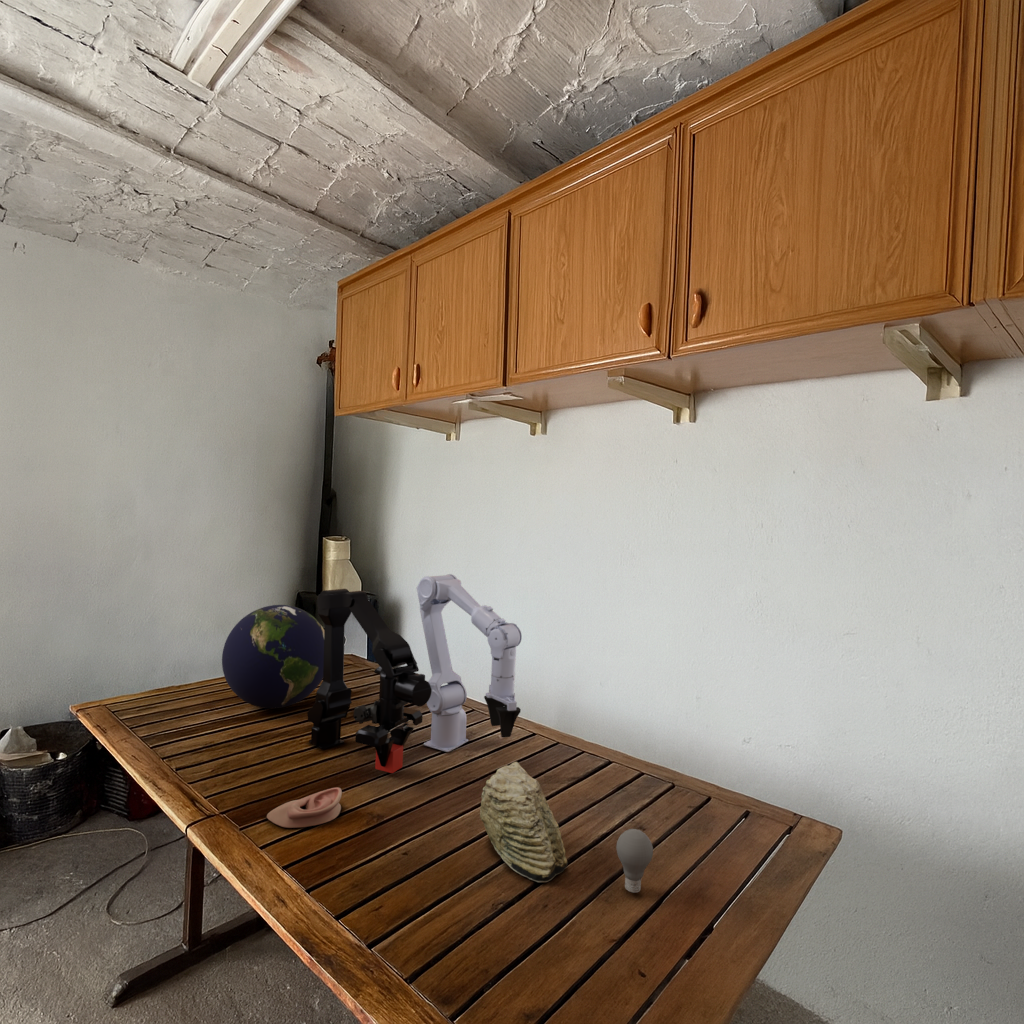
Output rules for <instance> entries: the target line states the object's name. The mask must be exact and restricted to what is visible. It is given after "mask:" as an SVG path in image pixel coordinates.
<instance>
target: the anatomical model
mask: <svg viewBox="0 0 1024 1024" xmlns="http://www.w3.org/2000/svg"><path fill="white" fill-rule="evenodd" d="M342 790H343V789H342V788H341V787H339V786H338V787H331V788H327V789H324V790H321V791H317V792H315V793H312V794H310V795H307V796H305V797H302V798H299V799H295V800H290V801H287V802H285V803H282V804H281V805H279V806H277V807H275V808H273V809H272V810H270V811H269V812H268V813H267V814H266V819H267V820H268V821H270V822H271V823H273V824H275V825H276V826H279V827H282V828H286V829H292V828H293V829H295V828H307V827H312V826H313V827H314V826H318V825H322V824H325V823H329V822H331V821H333V820H334V819H336V818H337V817H338V816H339V815H340V813H341V810H342V806H341V803H340V801H341V799H342V797H343V796H342V795H343V791H342Z"/></svg>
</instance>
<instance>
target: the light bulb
mask: <svg viewBox="0 0 1024 1024" xmlns="http://www.w3.org/2000/svg"><path fill="white" fill-rule="evenodd" d="M615 849H616V854H617V857H618V859H619V861H620V863H621V865H622V867H623V873H624V874H623V875H624V876H625V878H624V888H625V890H627V891H628V892H630V893H634V894H635V893H639V892H640V891H641V889H642V887H641V886H642V879H643V877H644V875H645V871H646V868H647V867H648V866H649V864H650V863H651V861H652V859H653V855H654V847H653V843H652V841H651V838H649V836H648V835H647V834H646V833H645V832H643V831H642V830H641V829H636V828H629V829H627V830H625V831H623V832H622V833H621V834H620V835H619V837H618V839H617V841H616V847H615Z"/></svg>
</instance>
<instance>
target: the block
mask: <svg viewBox="0 0 1024 1024" xmlns="http://www.w3.org/2000/svg"><path fill="white" fill-rule="evenodd" d="M403 761H404V746H401V745H396V744H393V745H392V748H391V752H390V755H389V758H388V761H387V764H386V766H385V767H383V766H381V764H380V761H379V758H378V755H377V752H376V751H375V762H374V763H375V767H374V768H375V770H378V771H380V772H381V771H382V772H385V773H389V774H394V773H395V772H397V771H398V770H400V769H402V768H403V765H404V764H403V763H404V762H403Z"/></svg>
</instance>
